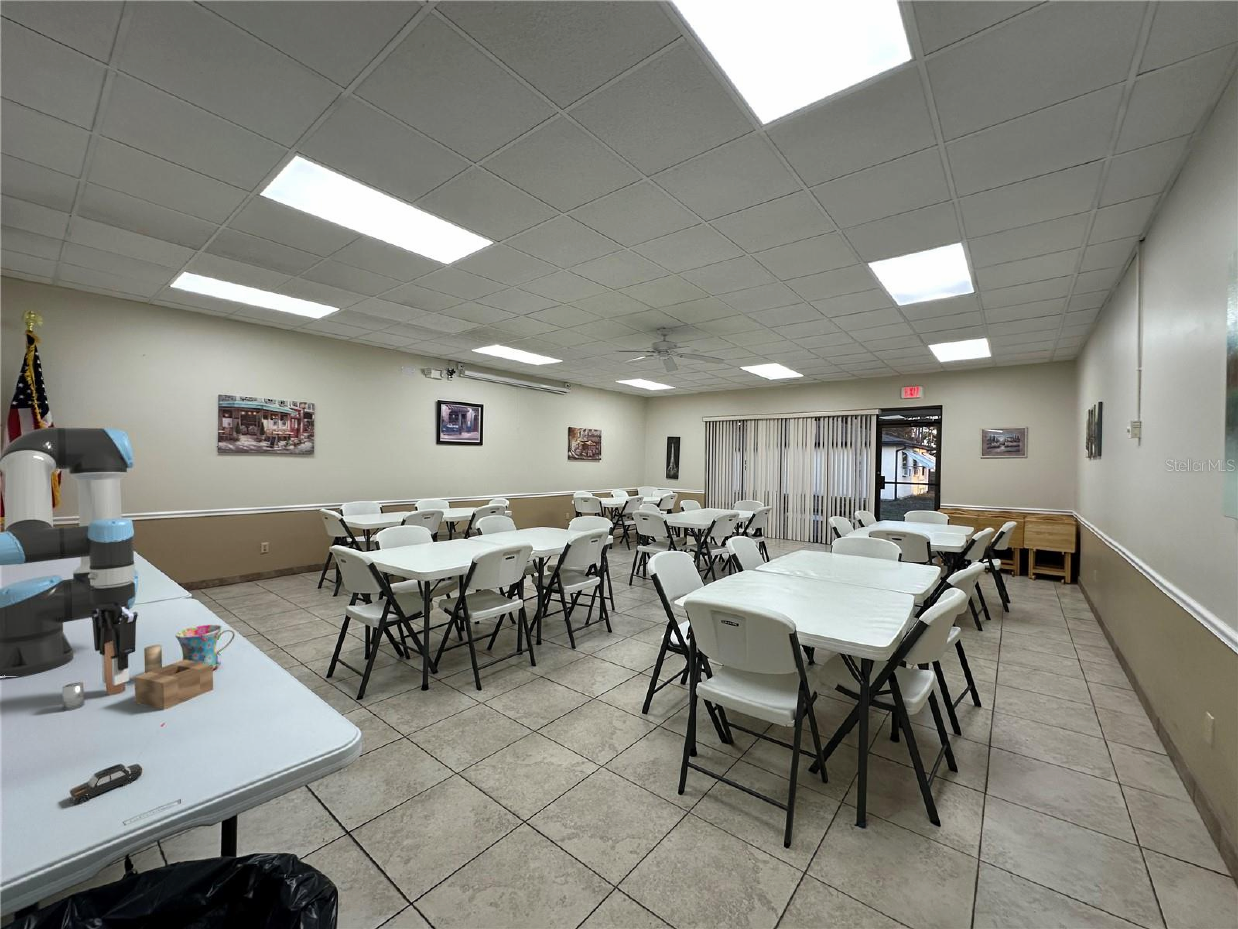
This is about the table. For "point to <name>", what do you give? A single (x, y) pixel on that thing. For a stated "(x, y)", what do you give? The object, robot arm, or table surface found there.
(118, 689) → the long pin
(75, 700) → the short pin
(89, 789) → the toy car
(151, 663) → the medium pin
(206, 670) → the block
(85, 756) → the table surface
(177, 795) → the table surface
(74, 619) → the robot arm
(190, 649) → the mug
